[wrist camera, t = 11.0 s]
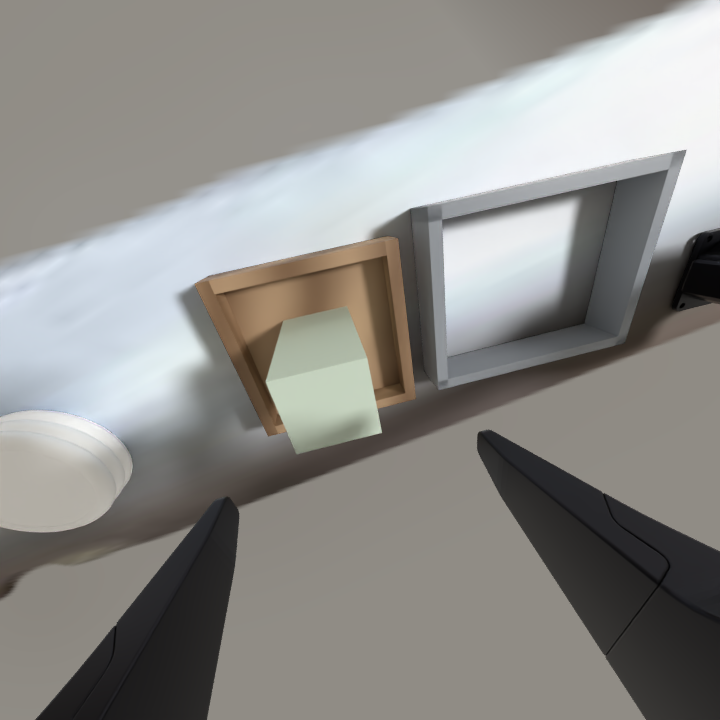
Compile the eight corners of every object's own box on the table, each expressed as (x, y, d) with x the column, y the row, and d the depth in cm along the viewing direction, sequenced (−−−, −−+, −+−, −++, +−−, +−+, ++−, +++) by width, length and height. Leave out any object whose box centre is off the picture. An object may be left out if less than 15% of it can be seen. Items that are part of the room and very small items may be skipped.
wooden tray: (387, 235, 18) (398, 238, 16) (406, 382, 24) (415, 398, 22) (209, 275, 18) (194, 283, 15) (272, 415, 23) (268, 436, 21)
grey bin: (632, 159, 18) (686, 149, 16) (590, 329, 24) (624, 343, 22) (410, 208, 18) (427, 206, 15) (424, 371, 24) (438, 390, 21)
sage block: (346, 305, 19) (367, 357, 12) (358, 361, 21) (382, 432, 14) (283, 320, 19) (265, 382, 12) (302, 374, 21) (296, 454, 14)
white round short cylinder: (159, 479, 25) (137, 515, 22) (48, 507, 24) (10, 549, 21) (85, 392, 20) (44, 423, 17) (-54, 425, 20) (-122, 464, 17)
